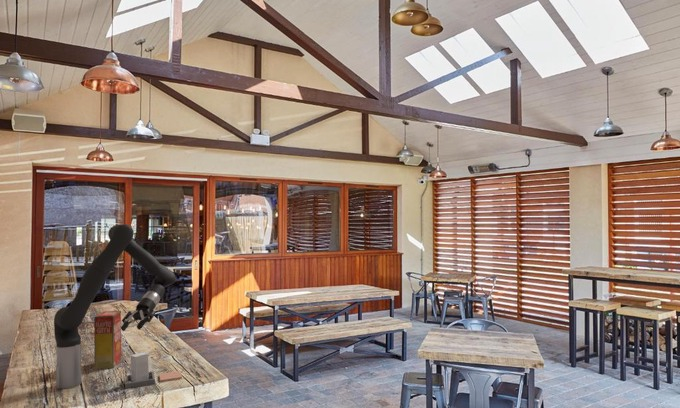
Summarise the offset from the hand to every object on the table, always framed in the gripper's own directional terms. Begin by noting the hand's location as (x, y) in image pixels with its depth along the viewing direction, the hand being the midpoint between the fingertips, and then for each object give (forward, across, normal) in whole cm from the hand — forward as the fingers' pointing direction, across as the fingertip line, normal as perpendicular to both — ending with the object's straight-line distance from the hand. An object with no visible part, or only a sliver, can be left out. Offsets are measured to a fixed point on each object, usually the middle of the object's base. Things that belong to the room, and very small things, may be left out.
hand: (130, 329), depth 209 cm
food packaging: (-3, -30, +25) cm, 39 cm away
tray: (+14, +4, +18) cm, 23 cm away
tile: (+8, +13, +23) cm, 28 cm away
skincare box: (+14, +3, +18) cm, 23 cm away
